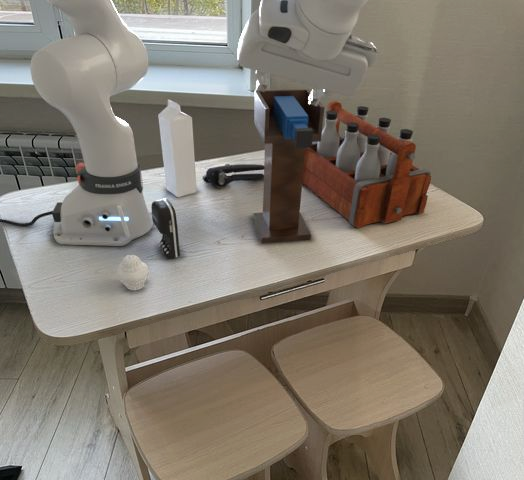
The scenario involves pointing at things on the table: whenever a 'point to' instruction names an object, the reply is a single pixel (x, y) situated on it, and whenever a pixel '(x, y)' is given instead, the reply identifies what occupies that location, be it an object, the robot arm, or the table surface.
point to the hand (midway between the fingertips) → (286, 95)
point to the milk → (177, 150)
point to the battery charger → (166, 227)
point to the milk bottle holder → (365, 169)
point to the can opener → (220, 179)
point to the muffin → (132, 272)
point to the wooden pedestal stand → (283, 169)
